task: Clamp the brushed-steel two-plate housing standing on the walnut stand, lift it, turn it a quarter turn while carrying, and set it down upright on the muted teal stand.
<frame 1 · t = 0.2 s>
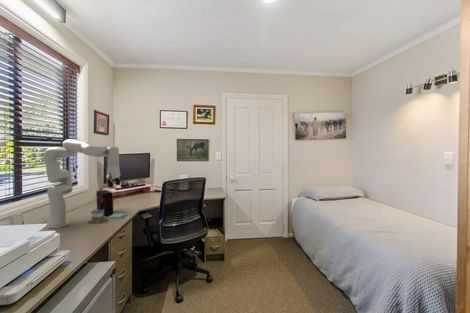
hand: (114, 186, 174), 31 cm above the table, fingers open, 9 cm apart
stand b: (117, 217, 197), on the table
stand a: (98, 221, 187), on the table
housing: (98, 218, 187), point 2 cm above the table, touching stand a
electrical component: (105, 214, 207), on the table
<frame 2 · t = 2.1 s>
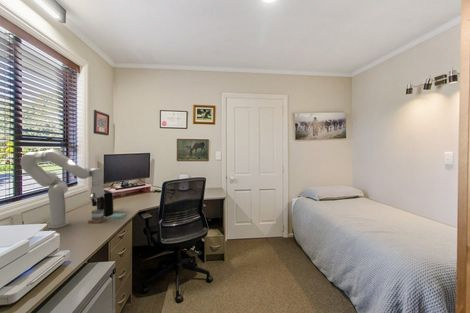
hand: (98, 204, 186), 14 cm above the table, fingers open, 9 cm apart
nothing on the table moved.
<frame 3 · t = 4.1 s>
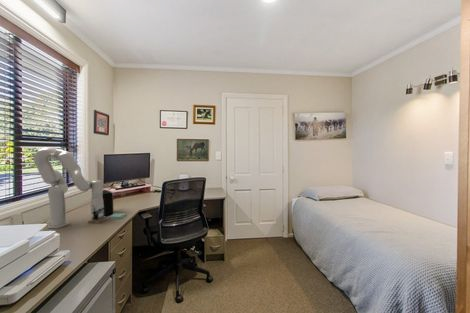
hand: (97, 217, 186), 3 cm above the table, fingers closed on housing, 5 cm apart
housing: (98, 218, 187), point 2 cm above the table, touching gripper, stand a
everything else where it was.
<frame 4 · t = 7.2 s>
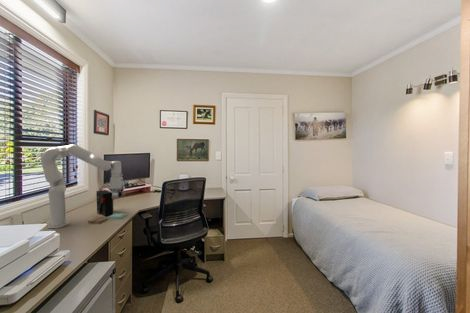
hand: (117, 196, 196), 18 cm above the table, fingers closed on housing, 5 cm apart
housing: (117, 197, 196), point 17 cm above the table, touching gripper
everything else where it was.
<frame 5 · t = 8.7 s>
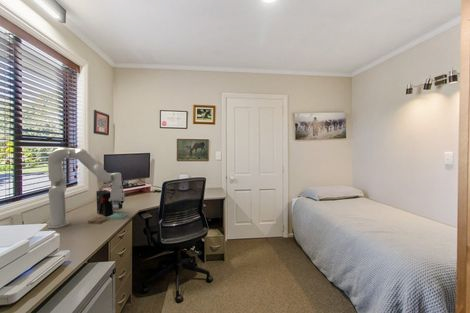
hand: (117, 208, 197), 8 cm above the table, fingers closed on housing, 5 cm apart
housing: (117, 209, 197), point 7 cm above the table, touching gripper
everything else where it was.
when the fingers open (4 cm above the table, at t = 10.2 s): housing drops 2 cm, resting on stand b.
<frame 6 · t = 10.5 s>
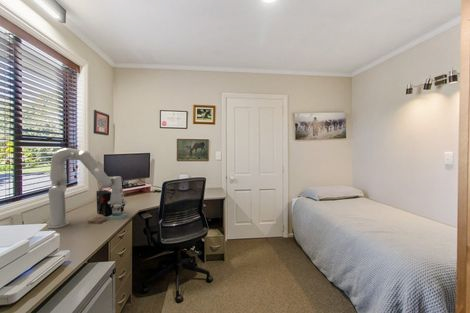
hand: (117, 211, 197), 5 cm above the table, fingers open, 7 cm apart
housing: (117, 214, 197), point 2 cm above the table, touching stand b
everything else where it was.
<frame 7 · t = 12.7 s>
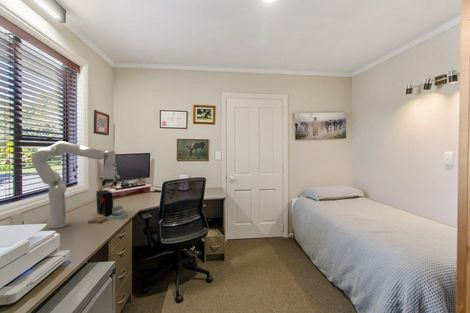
hand: (109, 185, 192), 28 cm above the table, fingers open, 9 cm apart
nothing on the table moved.
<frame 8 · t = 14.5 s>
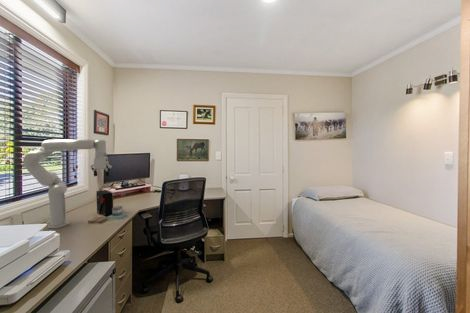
hand: (101, 176, 188), 36 cm above the table, fingers open, 9 cm apart
nothing on the table moved.
at the end: housing inside the target area on the stand b (0.2 cm from its centre), point 2.0 cm above the stand b's base; housing tilted 0°; the gripper is holding nothing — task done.
